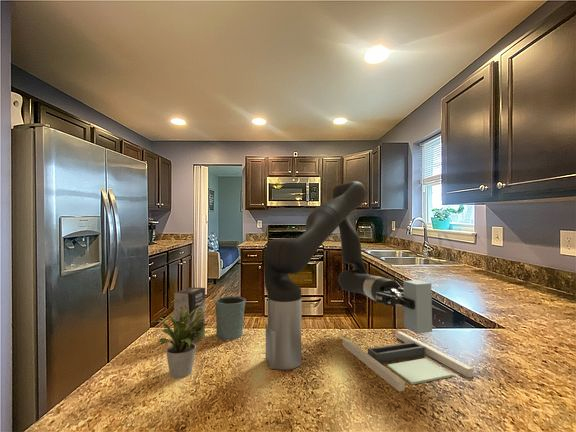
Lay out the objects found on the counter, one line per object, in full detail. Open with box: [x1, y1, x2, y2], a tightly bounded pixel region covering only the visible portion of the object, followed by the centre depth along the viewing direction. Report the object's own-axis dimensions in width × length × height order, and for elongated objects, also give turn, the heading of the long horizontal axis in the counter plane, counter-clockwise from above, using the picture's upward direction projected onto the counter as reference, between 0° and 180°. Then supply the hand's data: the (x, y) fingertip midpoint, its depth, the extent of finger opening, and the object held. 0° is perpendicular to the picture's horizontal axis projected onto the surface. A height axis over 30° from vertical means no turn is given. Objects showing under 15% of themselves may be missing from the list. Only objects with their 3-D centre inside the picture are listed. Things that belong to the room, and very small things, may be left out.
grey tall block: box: [402, 279, 433, 335], centre depth 73 cm, size 5×5×12 cm
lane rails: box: [342, 331, 474, 392], centre depth 79 cm, size 22×26×2 cm
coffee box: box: [172, 287, 206, 344], centre depth 93 cm, size 9×6×16 cm
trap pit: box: [367, 342, 426, 364], centre depth 80 cm, size 16×4×2 cm, turn 107°
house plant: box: [152, 306, 211, 379], centre depth 70 cm, size 14×14×16 cm
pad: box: [386, 358, 453, 385], centre depth 72 cm, size 12×9×1 cm
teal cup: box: [214, 295, 246, 341], centre depth 97 cm, size 10×10×12 cm
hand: (422, 304), depth 71 cm, fingers closed on grey tall block, 4 cm apart
